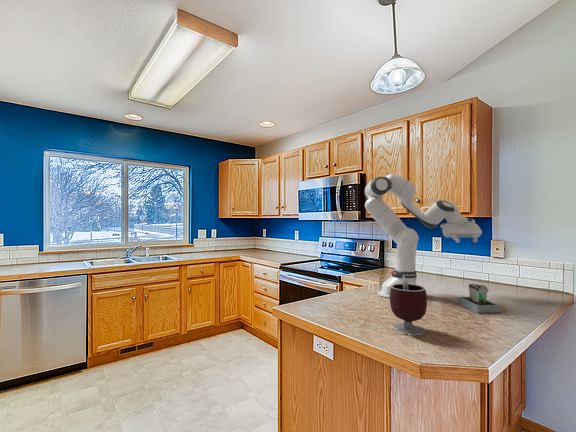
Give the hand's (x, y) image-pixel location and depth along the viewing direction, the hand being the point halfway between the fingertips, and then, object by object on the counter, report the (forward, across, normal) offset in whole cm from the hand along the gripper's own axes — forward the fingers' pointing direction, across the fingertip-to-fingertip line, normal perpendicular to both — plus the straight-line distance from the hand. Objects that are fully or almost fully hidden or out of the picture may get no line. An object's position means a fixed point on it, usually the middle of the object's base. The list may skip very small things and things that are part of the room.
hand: (467, 241), depth 168 cm
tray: (+34, -5, +11) cm, 36 cm away
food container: (+33, -3, +11) cm, 35 cm away
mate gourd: (+54, -50, -9) cm, 74 cm away
